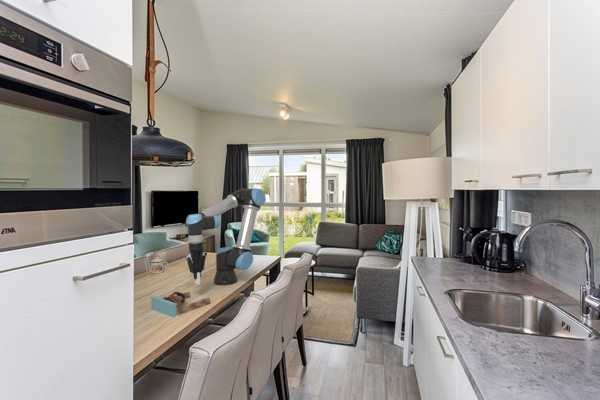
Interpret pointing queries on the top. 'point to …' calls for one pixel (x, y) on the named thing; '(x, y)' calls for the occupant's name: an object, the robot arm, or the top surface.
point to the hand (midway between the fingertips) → (197, 284)
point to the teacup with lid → (157, 265)
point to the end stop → (163, 306)
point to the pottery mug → (176, 298)
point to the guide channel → (190, 306)
